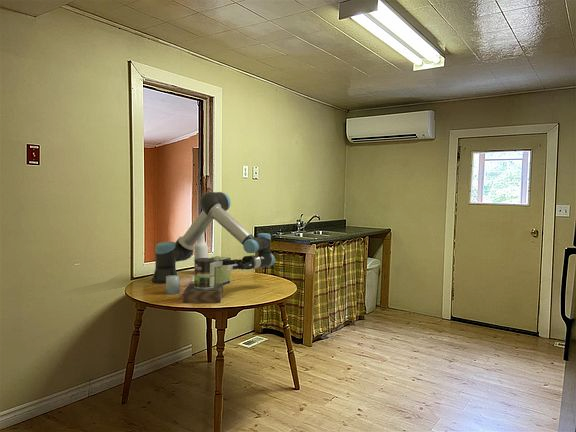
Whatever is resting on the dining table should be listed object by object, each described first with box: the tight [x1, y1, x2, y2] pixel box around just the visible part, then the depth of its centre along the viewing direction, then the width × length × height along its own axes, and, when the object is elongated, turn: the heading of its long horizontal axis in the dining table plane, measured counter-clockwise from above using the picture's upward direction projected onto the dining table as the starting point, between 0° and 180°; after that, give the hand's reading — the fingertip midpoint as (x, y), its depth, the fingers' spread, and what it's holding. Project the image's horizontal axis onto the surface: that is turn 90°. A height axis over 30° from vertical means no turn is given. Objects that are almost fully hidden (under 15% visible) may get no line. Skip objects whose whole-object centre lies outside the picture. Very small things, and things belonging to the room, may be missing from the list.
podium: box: [182, 282, 224, 304], centre depth 218 cm, size 18×18×6 cm
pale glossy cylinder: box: [165, 274, 181, 295], centre depth 229 cm, size 7×7×9 cm
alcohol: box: [193, 231, 209, 267], centre depth 285 cm, size 9×9×30 cm
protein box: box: [210, 255, 232, 286], centre depth 252 cm, size 10×16×16 cm
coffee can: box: [193, 257, 215, 289], centre depth 218 cm, size 10×10×14 cm
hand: (219, 266), depth 224 cm, fingers open, 13 cm apart
